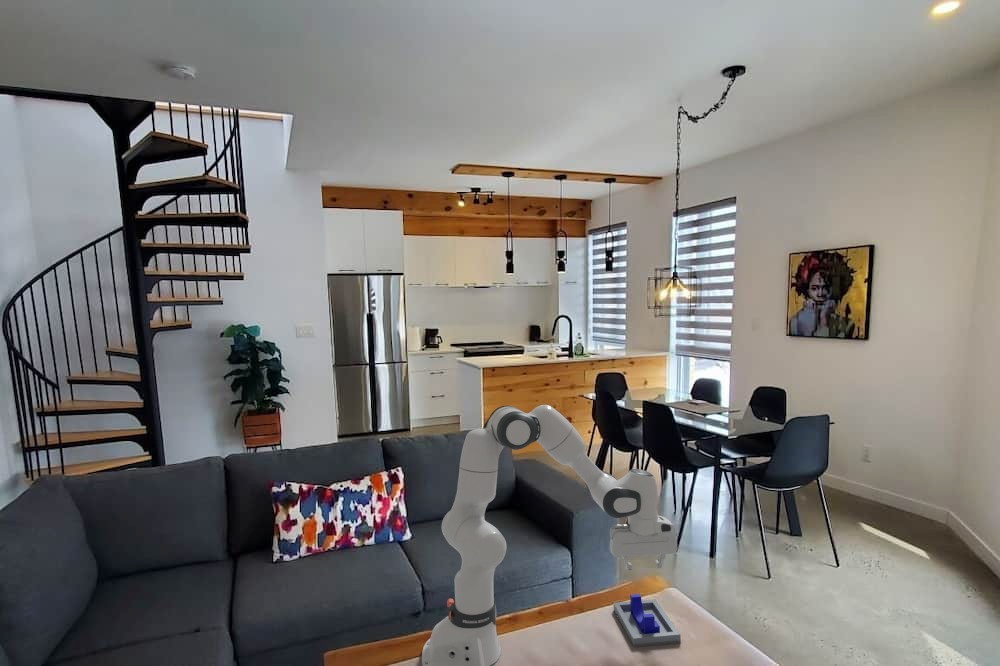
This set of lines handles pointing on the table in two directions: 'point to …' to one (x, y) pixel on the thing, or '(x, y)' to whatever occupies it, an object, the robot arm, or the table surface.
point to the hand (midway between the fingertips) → (643, 568)
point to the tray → (633, 631)
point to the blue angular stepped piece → (643, 616)
